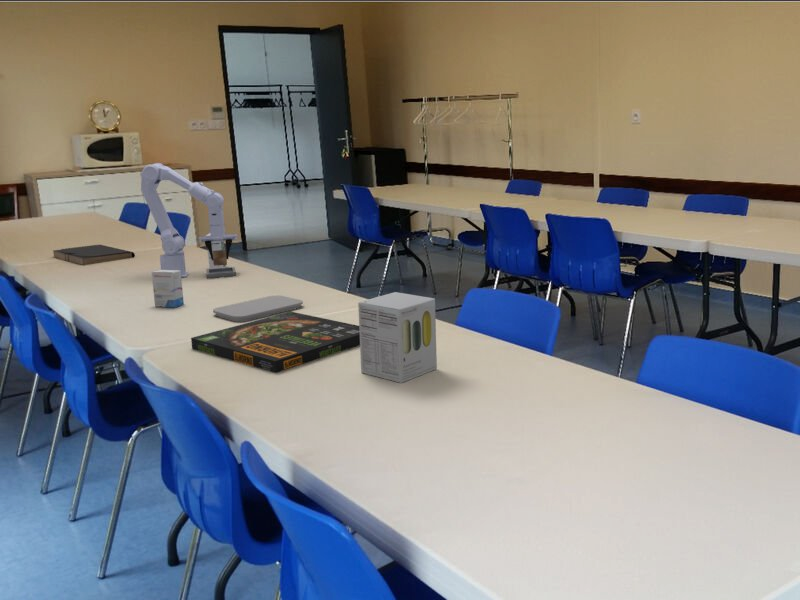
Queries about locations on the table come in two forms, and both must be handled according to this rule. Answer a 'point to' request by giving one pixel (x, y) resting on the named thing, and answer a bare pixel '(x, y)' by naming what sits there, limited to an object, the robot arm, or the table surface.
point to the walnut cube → (219, 257)
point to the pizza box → (280, 341)
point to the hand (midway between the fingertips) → (220, 259)
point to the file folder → (92, 254)
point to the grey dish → (221, 272)
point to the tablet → (257, 308)
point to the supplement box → (397, 336)
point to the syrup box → (215, 246)
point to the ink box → (167, 288)
